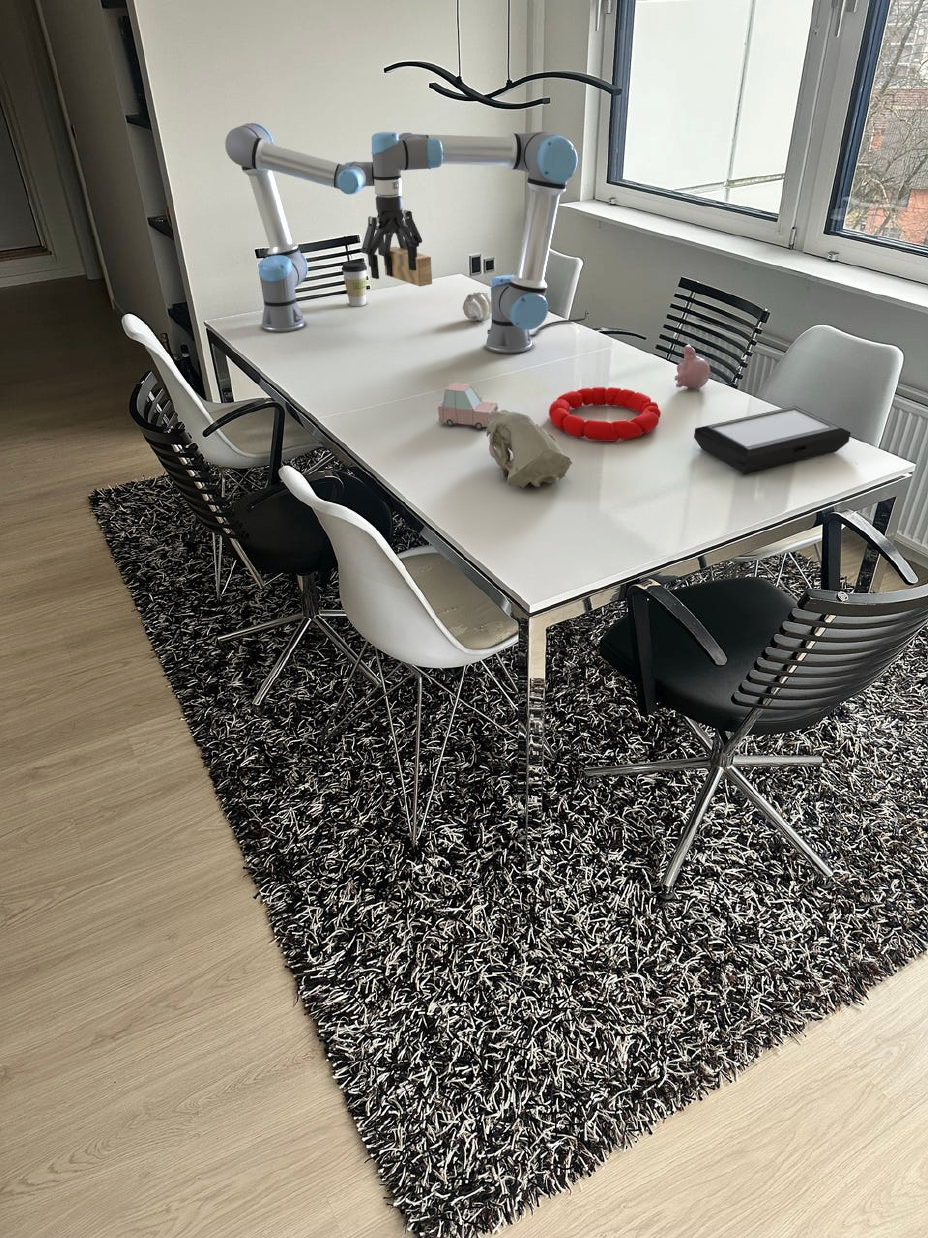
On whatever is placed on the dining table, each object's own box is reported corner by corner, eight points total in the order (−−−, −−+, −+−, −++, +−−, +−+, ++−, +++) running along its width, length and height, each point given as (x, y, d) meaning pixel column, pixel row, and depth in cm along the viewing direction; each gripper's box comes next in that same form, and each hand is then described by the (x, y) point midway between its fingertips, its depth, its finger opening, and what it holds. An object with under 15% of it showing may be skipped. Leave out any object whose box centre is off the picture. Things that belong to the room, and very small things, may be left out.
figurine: (665, 387, 264) (669, 347, 257) (693, 380, 268) (698, 340, 261) (686, 396, 257) (690, 355, 250) (714, 388, 262) (720, 348, 255)
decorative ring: (589, 435, 224) (684, 402, 234) (527, 398, 247) (617, 369, 256) (589, 461, 229) (683, 427, 238) (529, 422, 251) (617, 393, 260)
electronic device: (746, 454, 209) (695, 425, 224) (742, 478, 212) (692, 448, 228) (851, 429, 219) (795, 402, 234) (846, 452, 223) (791, 425, 238)
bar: (385, 274, 325) (383, 248, 320) (397, 272, 327) (395, 246, 322) (419, 286, 310) (418, 259, 304) (432, 283, 312) (431, 256, 307)
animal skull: (496, 517, 219) (521, 479, 201) (463, 429, 225) (484, 384, 207) (557, 503, 225) (586, 465, 206) (523, 417, 231) (549, 373, 212)
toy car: (488, 432, 240) (488, 396, 234) (436, 426, 244) (434, 390, 239) (499, 419, 247) (499, 384, 241) (448, 413, 252) (447, 379, 246)
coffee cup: (368, 306, 344) (365, 266, 336) (343, 307, 345) (339, 267, 336) (371, 300, 352) (368, 260, 344) (346, 300, 353) (342, 260, 344)
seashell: (455, 320, 326) (454, 292, 321) (490, 313, 332) (490, 286, 326) (468, 327, 319) (468, 298, 313) (504, 320, 325) (504, 292, 319)
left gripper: (375, 209, 303) (380, 280, 316) (419, 202, 312) (423, 271, 325) (363, 206, 308) (369, 276, 322) (407, 199, 317) (412, 267, 330)
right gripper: (359, 202, 241) (366, 283, 253) (431, 190, 254) (435, 268, 266) (344, 199, 246) (351, 279, 258) (415, 187, 259) (419, 264, 271)
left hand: (396, 273), depth 323 cm, fingers closed on bar, 5 cm apart
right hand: (394, 273), depth 262 cm, fingers open, 13 cm apart
